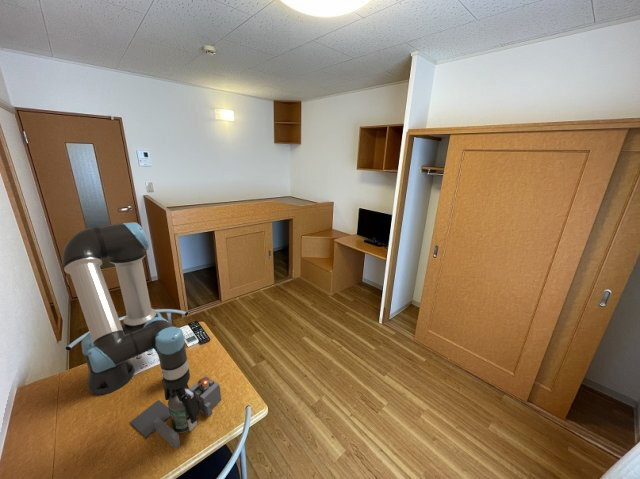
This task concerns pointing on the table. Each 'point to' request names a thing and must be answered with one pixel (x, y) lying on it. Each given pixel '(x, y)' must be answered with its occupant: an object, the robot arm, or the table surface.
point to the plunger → (204, 384)
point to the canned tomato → (178, 415)
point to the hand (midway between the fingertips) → (185, 421)
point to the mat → (150, 418)
